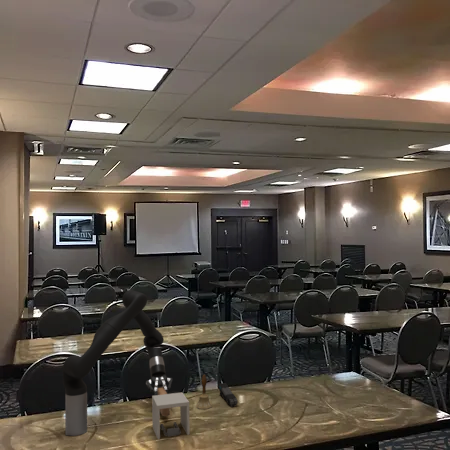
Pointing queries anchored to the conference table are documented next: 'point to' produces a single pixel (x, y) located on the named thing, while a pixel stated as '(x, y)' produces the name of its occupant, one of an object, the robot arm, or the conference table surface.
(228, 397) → the gun
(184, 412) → the grey arch stand
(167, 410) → the rounded end wooden stick
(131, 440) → the conference table surface
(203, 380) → the hand bell
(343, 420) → the conference table surface
